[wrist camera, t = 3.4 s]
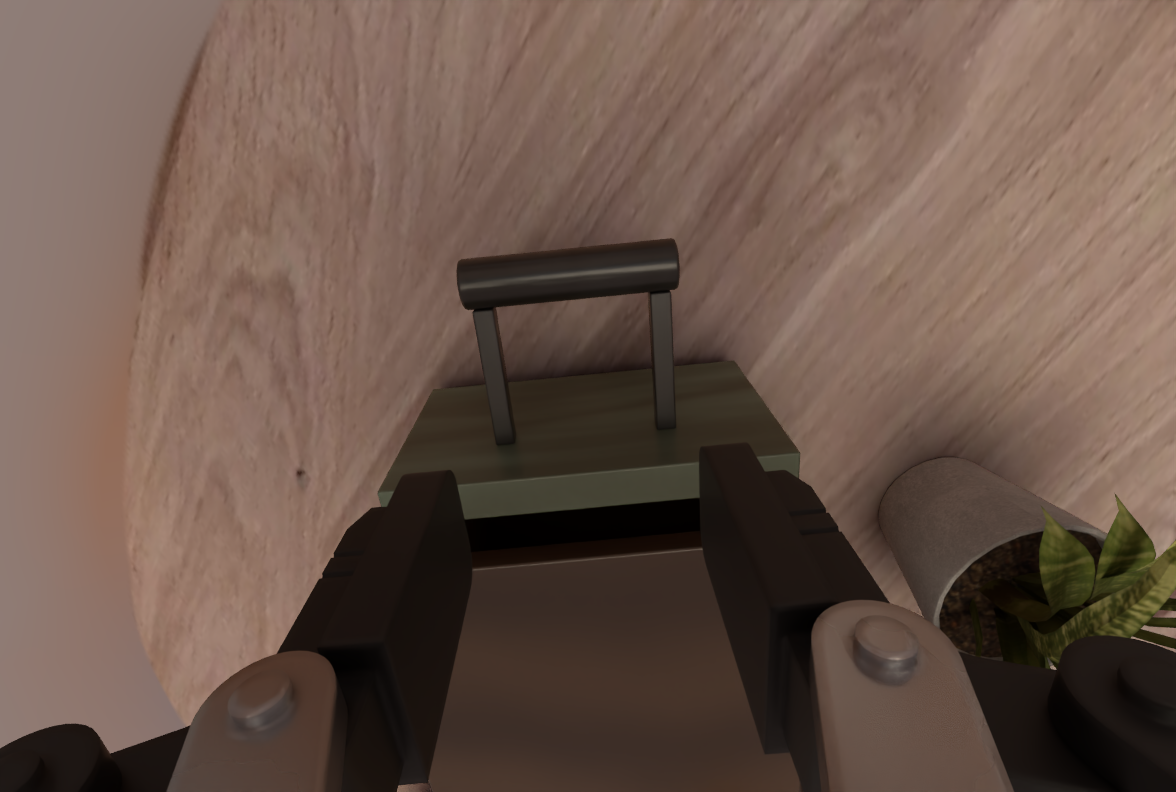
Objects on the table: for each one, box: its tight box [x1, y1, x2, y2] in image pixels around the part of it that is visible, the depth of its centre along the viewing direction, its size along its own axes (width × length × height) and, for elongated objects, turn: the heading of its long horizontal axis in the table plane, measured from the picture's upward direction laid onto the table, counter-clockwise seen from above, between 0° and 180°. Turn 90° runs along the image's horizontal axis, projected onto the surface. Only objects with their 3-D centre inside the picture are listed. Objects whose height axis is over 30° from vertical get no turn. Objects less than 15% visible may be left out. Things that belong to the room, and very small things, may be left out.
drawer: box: [378, 238, 800, 552], centre depth 21 cm, size 19×12×7 cm, turn 5°
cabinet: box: [428, 531, 800, 792], centre depth 24 cm, size 15×13×9 cm
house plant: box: [878, 457, 1176, 669], centre depth 20 cm, size 14×14×16 cm
